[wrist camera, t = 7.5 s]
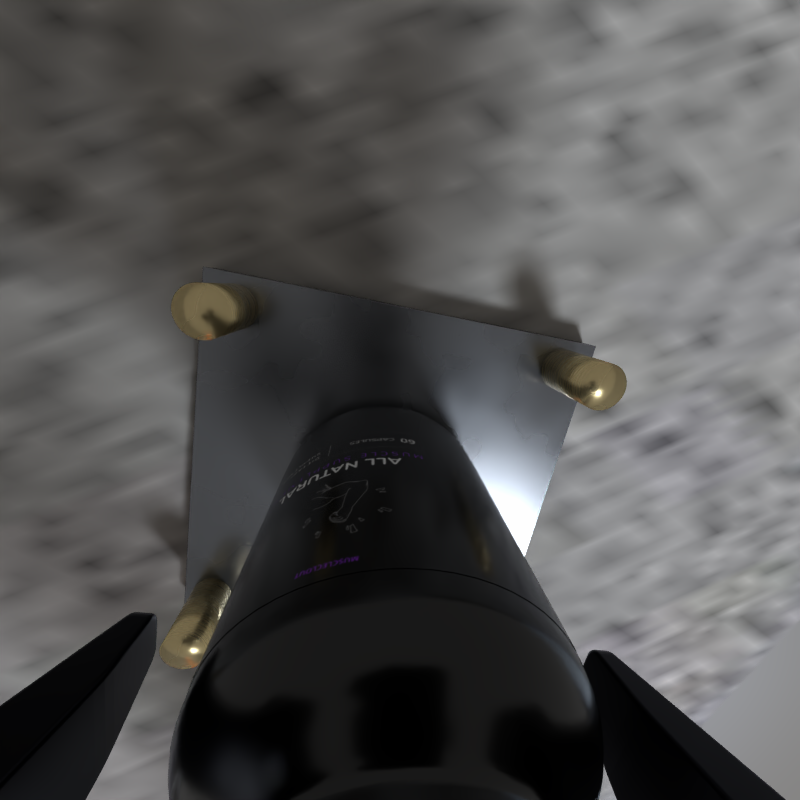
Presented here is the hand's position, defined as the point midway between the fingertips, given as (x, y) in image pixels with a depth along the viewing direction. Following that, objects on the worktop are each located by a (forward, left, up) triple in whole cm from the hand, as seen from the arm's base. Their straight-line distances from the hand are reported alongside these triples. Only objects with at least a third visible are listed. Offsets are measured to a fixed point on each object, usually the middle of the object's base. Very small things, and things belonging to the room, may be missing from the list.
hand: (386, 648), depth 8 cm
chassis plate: (0, 0, -7) cm, 7 cm away
